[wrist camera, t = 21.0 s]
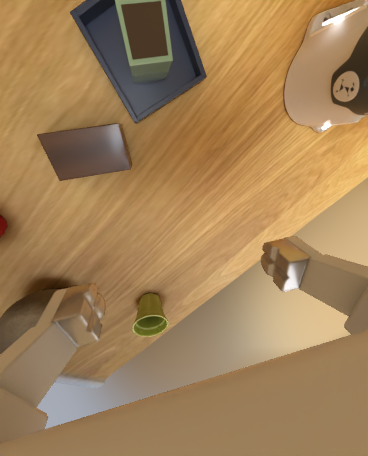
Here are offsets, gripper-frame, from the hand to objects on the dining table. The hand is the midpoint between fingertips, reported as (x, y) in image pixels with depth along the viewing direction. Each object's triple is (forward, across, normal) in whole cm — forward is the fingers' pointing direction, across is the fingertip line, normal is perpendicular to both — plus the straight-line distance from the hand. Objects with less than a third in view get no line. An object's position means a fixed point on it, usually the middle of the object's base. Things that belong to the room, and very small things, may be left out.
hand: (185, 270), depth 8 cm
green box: (+30, -2, -12) cm, 32 cm away
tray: (+31, -2, -16) cm, 35 cm away
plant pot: (+31, +10, +39) cm, 51 cm away
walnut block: (+31, +10, -4) cm, 33 cm away
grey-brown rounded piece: (+31, +32, +28) cm, 53 cm away
